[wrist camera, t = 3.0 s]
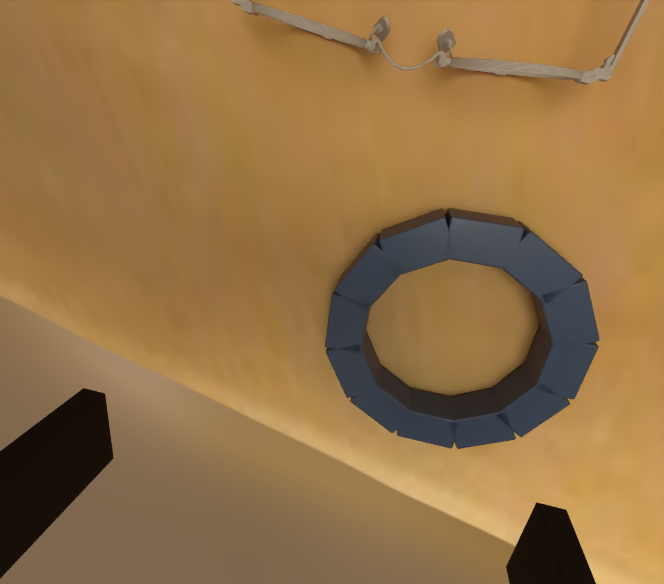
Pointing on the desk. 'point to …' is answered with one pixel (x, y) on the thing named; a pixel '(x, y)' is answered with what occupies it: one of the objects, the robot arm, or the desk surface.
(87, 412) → the robot arm
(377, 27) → the eyeglasses
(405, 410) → the dark blue segmented ring
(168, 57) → the desk surface
